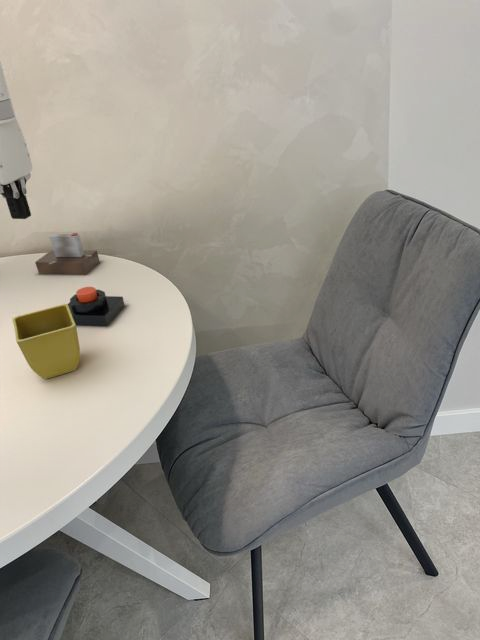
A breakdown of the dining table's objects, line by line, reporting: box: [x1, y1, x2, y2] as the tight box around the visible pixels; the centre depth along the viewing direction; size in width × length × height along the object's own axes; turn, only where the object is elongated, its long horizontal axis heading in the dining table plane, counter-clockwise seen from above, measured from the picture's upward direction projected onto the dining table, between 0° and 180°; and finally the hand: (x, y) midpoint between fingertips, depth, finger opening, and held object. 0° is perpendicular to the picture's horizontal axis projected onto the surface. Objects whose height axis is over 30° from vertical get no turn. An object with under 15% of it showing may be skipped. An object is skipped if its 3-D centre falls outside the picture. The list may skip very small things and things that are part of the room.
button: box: [75, 286, 98, 302], centre depth 103 cm, size 4×4×2 cm
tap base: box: [34, 249, 101, 276], centre depth 126 cm, size 12×9×3 cm
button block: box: [66, 289, 126, 327], centre depth 104 cm, size 10×8×4 cm
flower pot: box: [12, 303, 81, 380], centre depth 88 cm, size 9×9×9 cm
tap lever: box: [49, 232, 84, 257], centre depth 124 cm, size 6×2×5 cm, turn 78°
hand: (21, 217), depth 103 cm, fingers closed
